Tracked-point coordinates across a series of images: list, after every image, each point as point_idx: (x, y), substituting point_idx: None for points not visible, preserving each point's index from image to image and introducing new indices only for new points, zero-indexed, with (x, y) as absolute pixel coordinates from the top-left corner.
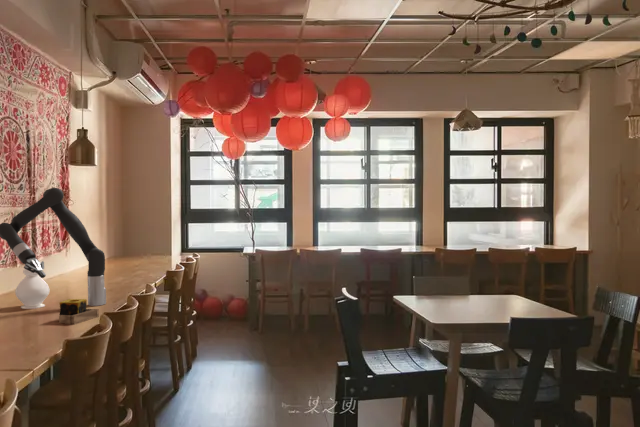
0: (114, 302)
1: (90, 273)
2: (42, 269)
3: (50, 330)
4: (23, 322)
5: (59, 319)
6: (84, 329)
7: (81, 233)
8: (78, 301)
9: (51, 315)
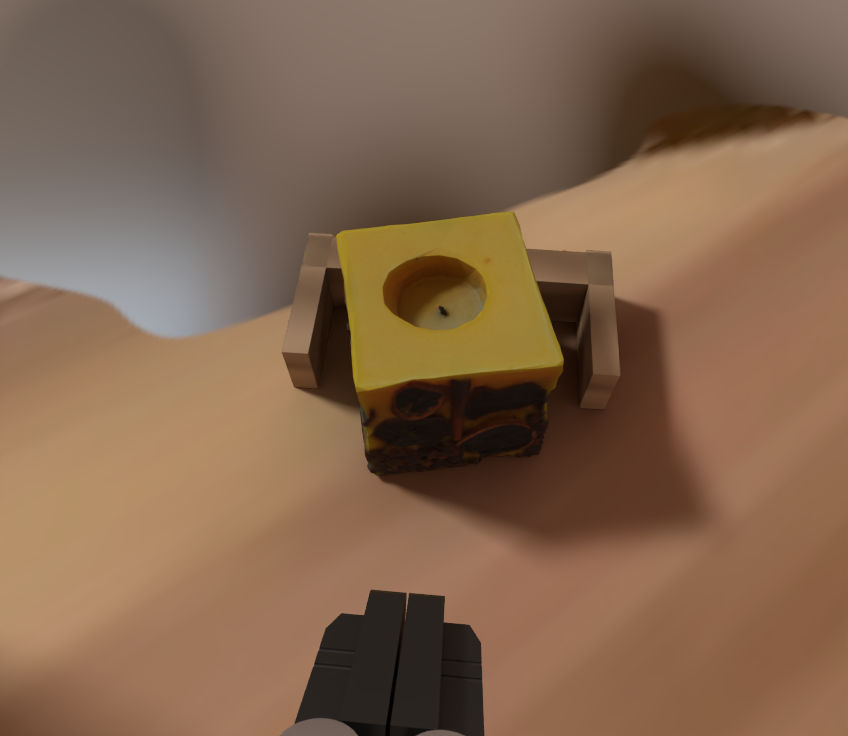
0: None
1: None
2: (291, 726)
3: (812, 336)
4: None
5: (612, 390)
6: (696, 171)
7: None
8: (469, 232)
9: None
